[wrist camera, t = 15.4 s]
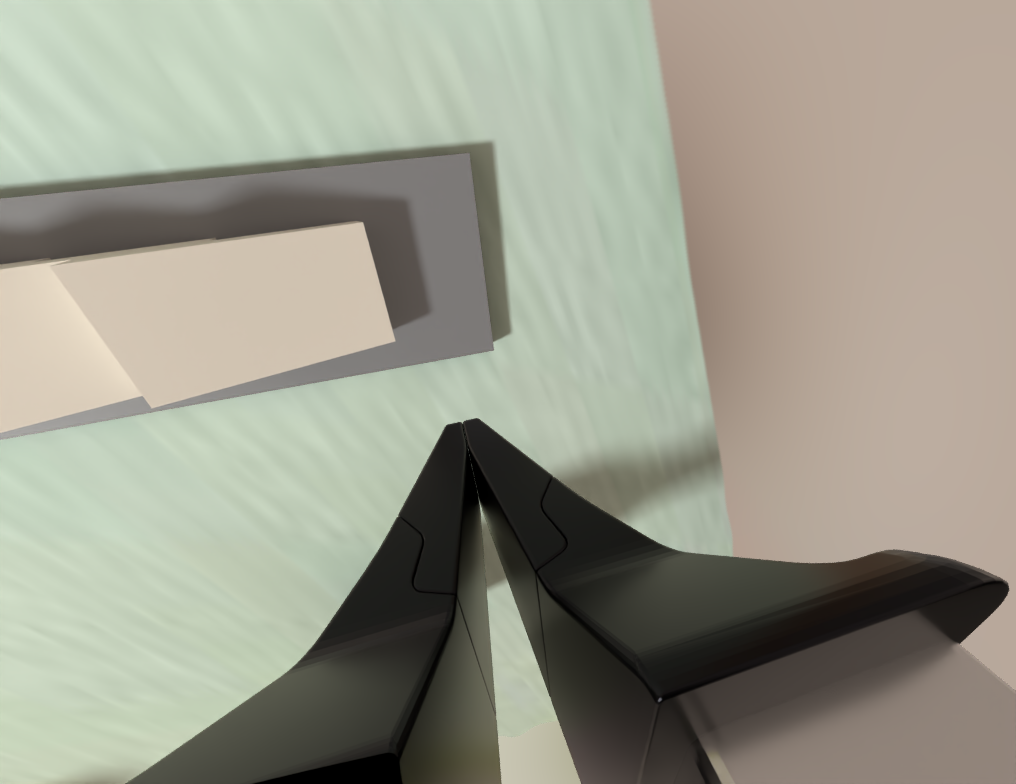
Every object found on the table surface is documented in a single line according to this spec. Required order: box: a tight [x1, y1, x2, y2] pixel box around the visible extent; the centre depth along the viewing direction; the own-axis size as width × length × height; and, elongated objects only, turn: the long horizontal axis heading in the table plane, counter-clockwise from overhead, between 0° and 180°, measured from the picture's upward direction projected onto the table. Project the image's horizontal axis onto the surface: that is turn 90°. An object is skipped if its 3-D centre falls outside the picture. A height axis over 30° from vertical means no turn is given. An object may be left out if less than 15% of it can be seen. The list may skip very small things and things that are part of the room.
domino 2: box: [50, 221, 395, 408], centre depth 14 cm, size 5×2×9 cm
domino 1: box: [0, 238, 216, 433], centre depth 13 cm, size 5×2×9 cm
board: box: [0, 153, 494, 440], centre depth 15 cm, size 9×30×1 cm, turn 95°
